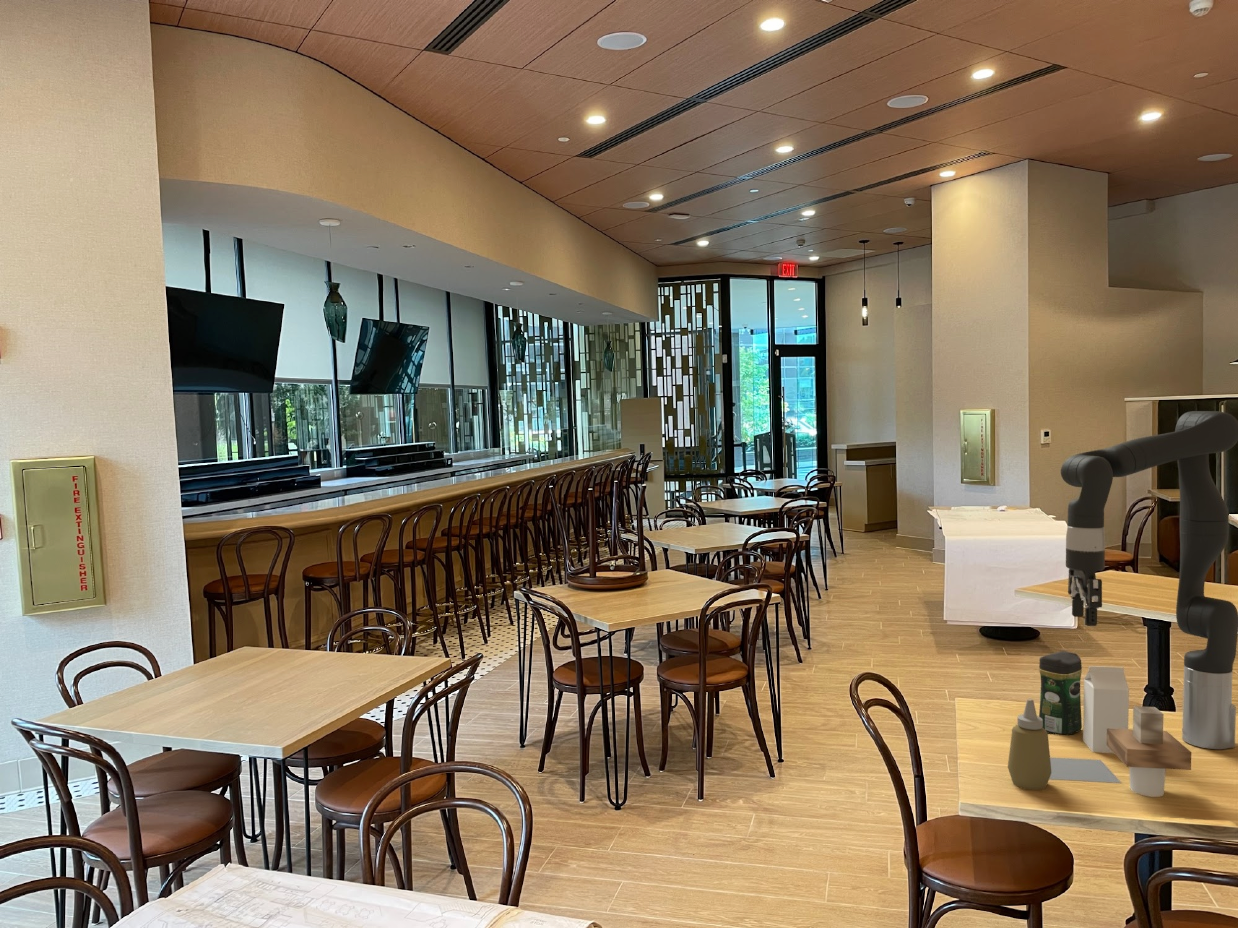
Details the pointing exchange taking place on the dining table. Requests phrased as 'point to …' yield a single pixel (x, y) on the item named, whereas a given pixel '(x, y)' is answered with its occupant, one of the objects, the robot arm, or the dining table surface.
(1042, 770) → the squeeze bottle
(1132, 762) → the tan plate with knob
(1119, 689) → the milk carton
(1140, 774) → the white cup
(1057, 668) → the coffee jar
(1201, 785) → the dining table surface
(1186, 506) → the robot arm
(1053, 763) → the rubber mat
